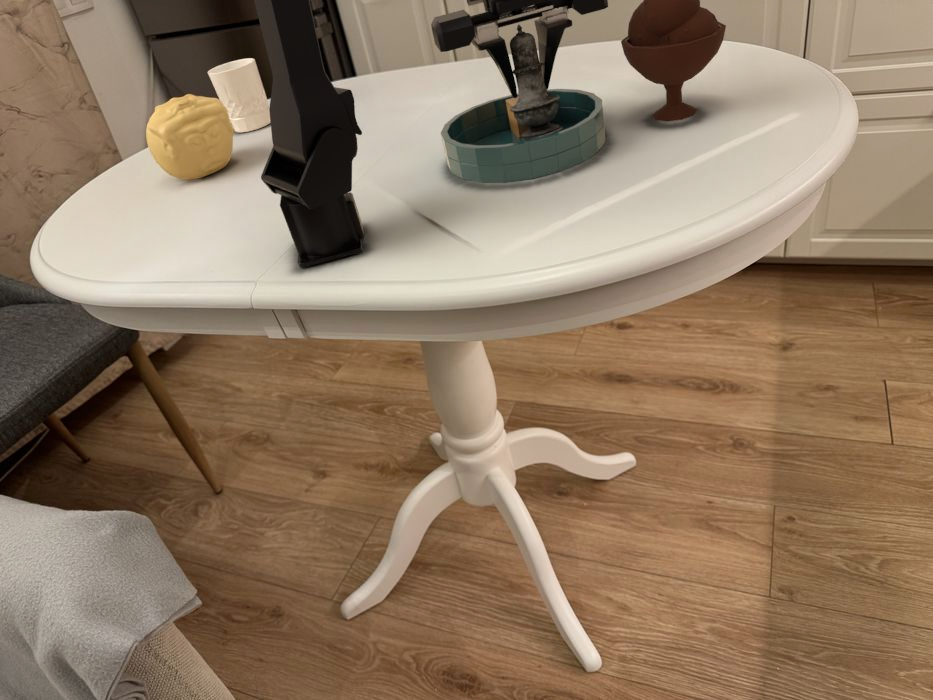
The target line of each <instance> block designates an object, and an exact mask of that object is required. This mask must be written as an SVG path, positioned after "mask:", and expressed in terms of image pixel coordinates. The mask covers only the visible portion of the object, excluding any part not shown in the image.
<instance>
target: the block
mask: <svg viewBox="0 0 933 700" xmlns="http://www.w3.org/2000/svg"><path fill="white" fill-rule="evenodd" d="M517 101H518V97H517V98H511V99H507V100H506V106H507V111H508V117H509V122H510V127H511V131H512V132H513V133H514V134H515V135H516V136H517V137H518V138H519V137H520V136H521V134H522V133H523V132H524V131H527V130H529V129H530V128H531V127H524V126H522V125H520V124H519V123H518V122H517V120H516V119H515V117H514V113H513V112H512V111H510V108H511V107H512V106H514V105H515V104H516V103H517ZM548 124H550V123H549V122H548Z"/></svg>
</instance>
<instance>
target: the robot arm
mask: <svg viewBox="0 0 933 700" xmlns="http://www.w3.org/2000/svg"><path fill="white" fill-rule="evenodd" d="M253 1H254V5H255V9H256V13H257V17H258V21H259V25H260V29H261V33H262V37H263V41H264V45H265V49H266V53H267V57H268V61H269V65H270V70H271V73H272V87H271V92H270V93H271V94H270V101H269V111H270V122H271V123H270V130H271V132H270V133H271V140H272V141H271V142H272V148H271V150H270V153H269V156H268V158H267V161H266V163H265V165H264V168H263V170H262V172H261V175H260V180H261V181H262V182H263V183H264V184H265V186H266V187H267V188H268V189H269V190H270V192H272V193H273V194H275V195H280V201H279V207H280V210H281V212H282V216H283V218H284V220H285V223H286V225H287V228H288V231H289V233H290V235H291V239H292V241H293V243H294V246H295V249H296V252H297V254H298V255H297V264H298V267H299V268H306V267H310V266H313V265H314V266H315V265H318V264H321V263H326V262H329V261H333V260H336V259H340V258H344V257H348V256H351V255H355V254H359V253H361V252H362V251H363V244H362V243H363V242H362V240H363V239H364V238H365V231H364V226H363V222H362V219H361V216H360V212H359V210H358V206H357V203H356V200H355V197H354V194H353V192H352V190H353V160H354V158H356V157H357V155H358V137H357V135H358V136H362V135H363V131H362V129H361V128H360V126H359V124H358V121H357V117H356V110H355V109H356V108H355V107H356V106H355V98H354V95H353V91H352V89H348V88H343V87H335V86H334V84H333V83H332V81H331V79H330V78H329V76H328V74H327V72H326V69H325V67H324V66H325V65H324V62H323V56H322V52H321V47H320V44H319V43H320V42H319V37H318V32H317V29H316V24H315V19H314V14H313V9H312V5H311V0H253ZM482 3H483V7H484V11H485V12H481V13H477V14H474V15H471V14H470V13H468V12H467V11H466V10H465V9H460V10H456V11H453V12H448V13H445V14H441V15H439V16H435V17H433V19H432V21H431V24H430V27H431V33H432V36H433V41H434V45H435V46H436V48H437V49H438V51H439V52H441V53H445V52H450V51H454V50H457V49H462V48H465V47H469V46H470V45H471V44H472V45H473V46H474V47H475V48H476V50H477V51H486V52H487V54H488V55H489V56H490V58H491V59H492V61H493V63H494V64H495V66H496V67H497V69H498V71H499V73H500V75H501V78H502V79H503V81H504V83H505V85H506V87H507V89H508V91H509V93H510V95H512V96H513V98H517V94H518V88H517V82H516V78H515V75H514V74H513V67H512V64H511V60H510V56H509V52H508V47H507V43H506V40H505V39H504V38H503V36H501V35H500V34H499V32H500V30H499V29H500V28H503V27H507V26H510V25H514V24H517V23H521V22H525V21H529V20H533V19H535V20H534V26H535V32H536V35H537V44H538V45H537V46H538V58H539V63H543V66H542V67H541V70H542V75H543V80H544V84H545V86H546V89H547V90H548V89H549V87H550V82H551V76H552V74H553V73H552V72H553V69H554V65H555V60H556V56H557V53H558V50H559V47H560V44H561V41H562V39H563V35H564V32H565V30H566V29H567V28H571V27H573V20H572V19H570V18H569V15H568V14H569V10H570V9H572V10H574V11H575V12H576V13H578V14H579V15H580V16H583V15H587V14H591V13H595V12H598V11H602V10H605V9H607V8H608V7H609V1H608V0H466V4H467V5H468V7H471V6H476V5H479V4H482ZM536 18H537V19H536Z"/></svg>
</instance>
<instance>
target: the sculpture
mask: <svg viewBox="0 0 933 700" xmlns="http://www.w3.org/2000/svg"><path fill="white" fill-rule="evenodd" d="M145 134H146V135H145V136H146V144H147V147H148V150H149V153H150V155H151V156H152V158H153V160H154V161H155V163H156V164H157V165H158V166H159V168H160V169H161V170H162V171H164V173H166V174H168V176H171V177H173V178H177V179H182V180H195V179H201V178H204V177H206V176H209V175H211V174H214V173H216V172H218V171H220V170H223V169H224V168H225V167H226V166H227V165H228V164H229V162H230V160H231V158H232V155H233V145H234V134H235V130H234V128H233V126H232V124H231V121H230V119H229V115H228V112H227V109H226V108H225V107H224V105H223V104H222V102H221V101H220V100H219V98H217V97H209V96H207V97H206V96H202V95H195V94H192V93H187V94H185V95H184V96H181V97H172V98H170V99H169V100H168V101H167V102H164V103H163V104H159V105H156V106H155V107H154V112H153V113H152V114H151V116H150V117H149V120H148V122H147V124H146V131H145Z"/></svg>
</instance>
